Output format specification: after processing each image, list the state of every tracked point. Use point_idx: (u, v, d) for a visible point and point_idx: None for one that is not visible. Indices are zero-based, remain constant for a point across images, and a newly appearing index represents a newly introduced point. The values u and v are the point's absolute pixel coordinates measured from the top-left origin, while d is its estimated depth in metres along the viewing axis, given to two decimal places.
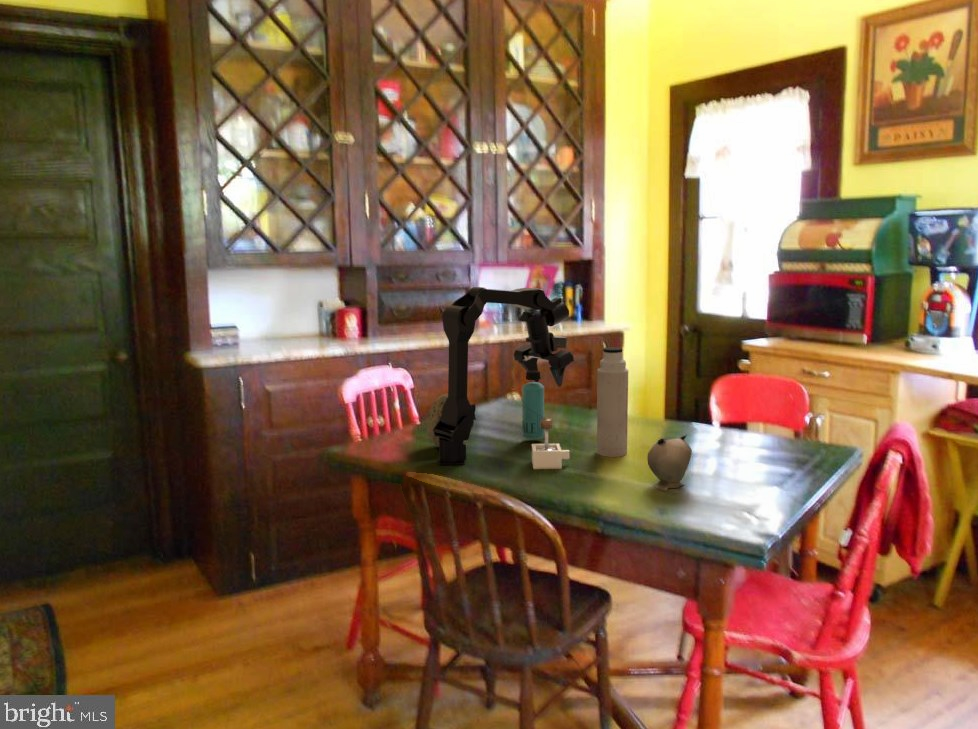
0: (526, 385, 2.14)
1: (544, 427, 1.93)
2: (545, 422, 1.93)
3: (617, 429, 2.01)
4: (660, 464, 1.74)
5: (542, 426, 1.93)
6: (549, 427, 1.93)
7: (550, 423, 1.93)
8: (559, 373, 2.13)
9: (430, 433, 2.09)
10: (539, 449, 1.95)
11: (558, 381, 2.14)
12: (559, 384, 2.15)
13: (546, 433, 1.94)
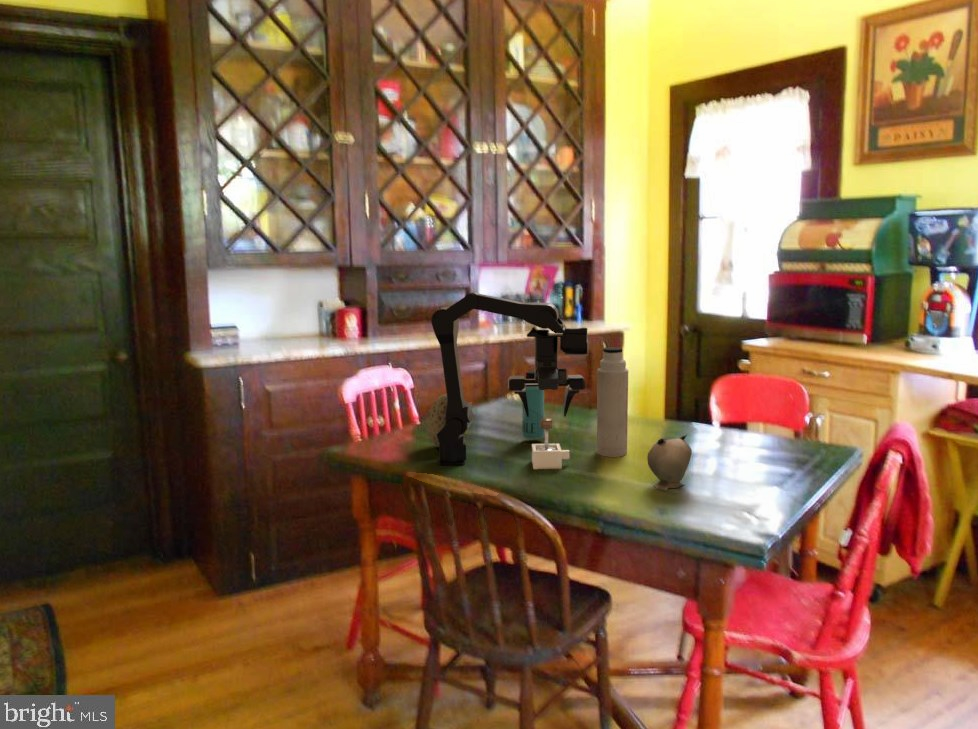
0: None
1: (544, 427, 1.93)
2: (545, 422, 1.93)
3: (617, 429, 2.01)
4: (660, 464, 1.74)
5: (542, 426, 1.93)
6: (549, 427, 1.93)
7: (550, 423, 1.93)
8: None
9: (430, 433, 2.09)
10: (539, 449, 1.95)
11: None
12: None
13: (546, 433, 1.94)
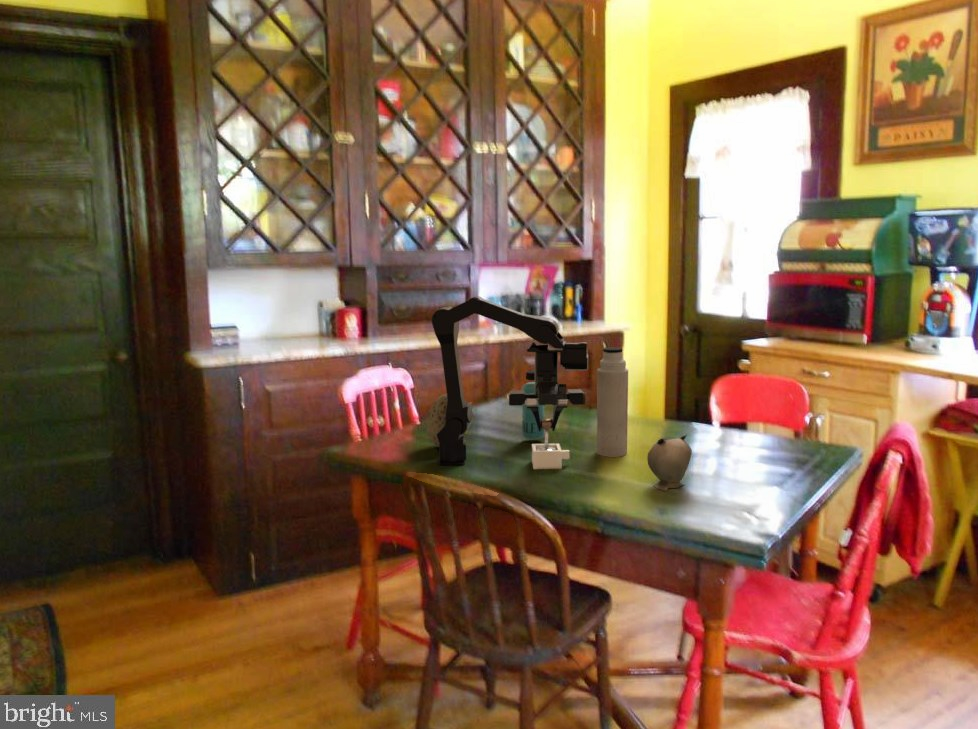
0: (526, 385, 2.14)
1: (544, 427, 1.93)
2: (545, 422, 1.93)
3: (617, 429, 2.01)
4: (660, 464, 1.74)
5: (542, 426, 1.93)
6: (549, 427, 1.93)
7: (550, 423, 1.93)
8: None
9: (430, 433, 2.09)
10: (539, 449, 1.95)
11: None
12: None
13: (546, 433, 1.94)
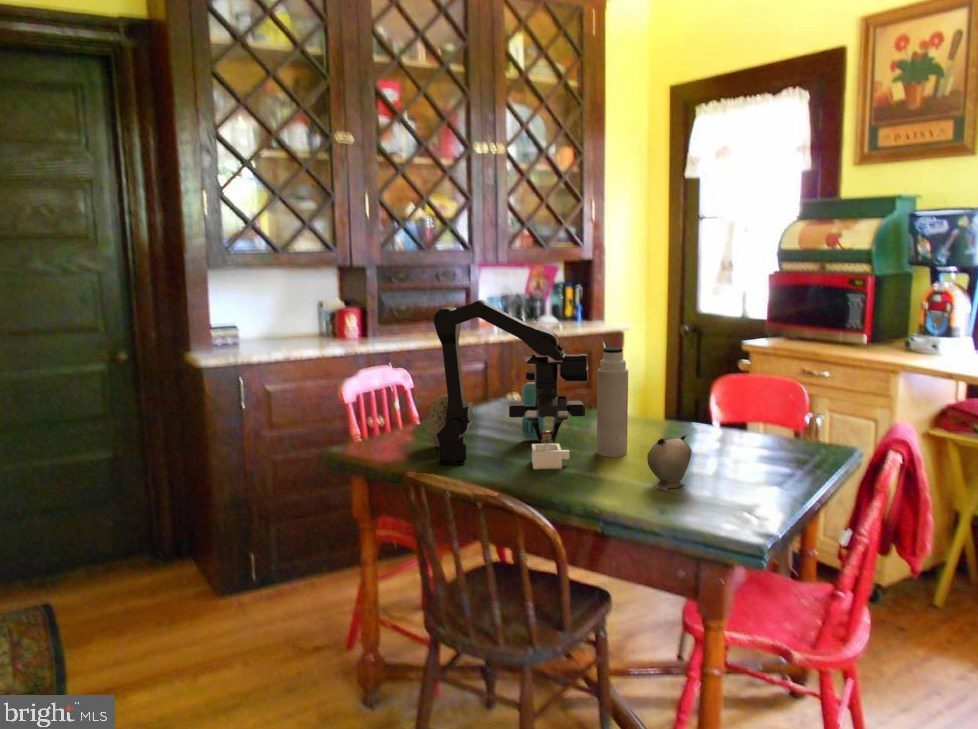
0: (526, 385, 2.14)
1: (544, 439, 1.94)
2: (545, 434, 1.93)
3: (617, 429, 2.01)
4: (660, 464, 1.74)
5: (542, 438, 1.94)
6: (549, 439, 1.94)
7: (550, 435, 1.94)
8: None
9: (430, 433, 2.09)
10: None
11: None
12: None
13: (546, 445, 1.95)
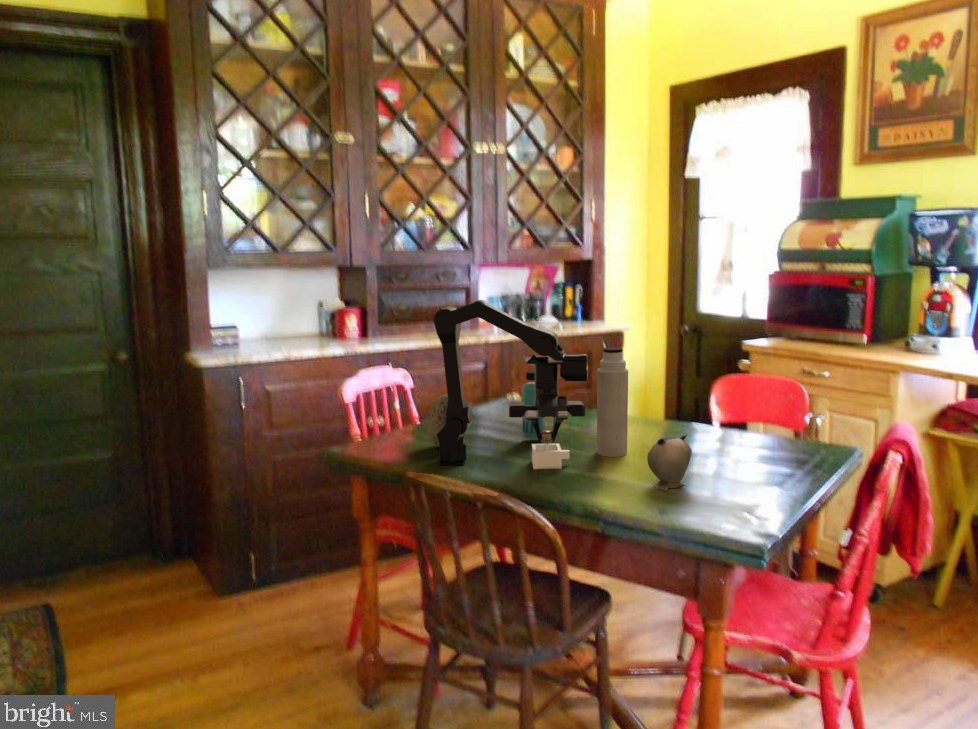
0: (526, 385, 2.14)
1: (544, 439, 1.94)
2: (545, 434, 1.93)
3: (617, 429, 2.01)
4: (660, 464, 1.74)
5: (542, 438, 1.94)
6: (549, 439, 1.94)
7: (550, 435, 1.94)
8: None
9: (430, 433, 2.09)
10: None
11: None
12: None
13: (546, 445, 1.95)
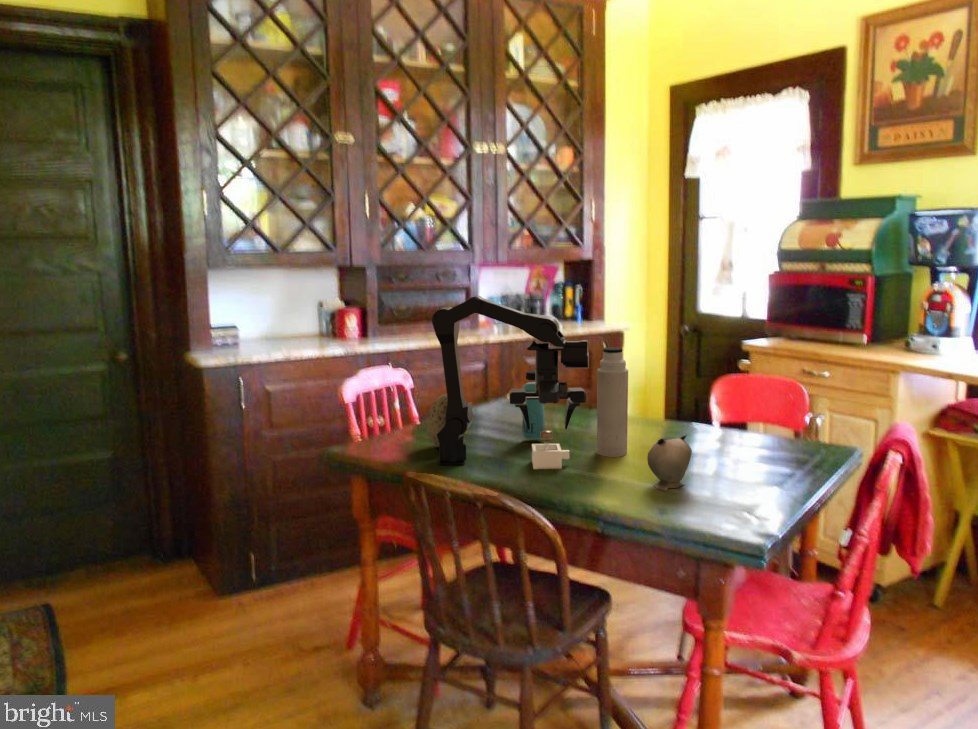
0: (526, 385, 2.14)
1: (544, 439, 1.94)
2: (545, 434, 1.93)
3: (617, 429, 2.01)
4: (660, 464, 1.74)
5: (542, 438, 1.94)
6: (549, 439, 1.94)
7: (550, 435, 1.94)
8: None
9: (430, 433, 2.09)
10: None
11: None
12: None
13: (546, 445, 1.95)
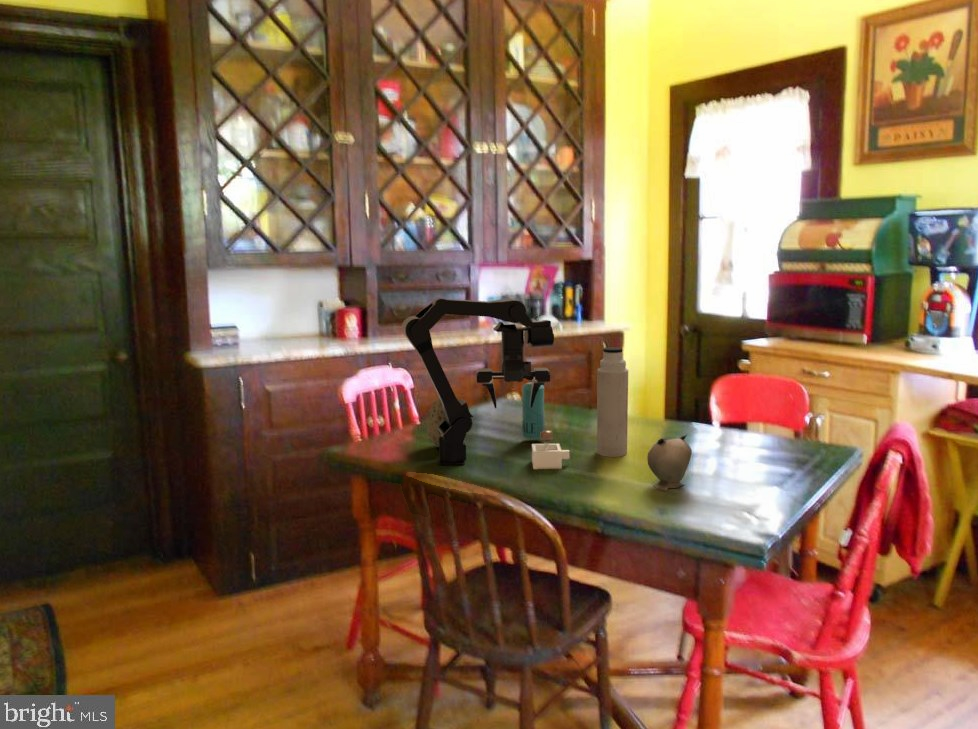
0: (526, 385, 2.14)
1: (544, 439, 1.94)
2: (545, 434, 1.93)
3: (617, 429, 2.01)
4: (660, 464, 1.74)
5: (542, 438, 1.94)
6: (549, 439, 1.94)
7: (550, 435, 1.94)
8: None
9: (430, 433, 2.09)
10: None
11: None
12: None
13: (546, 445, 1.95)
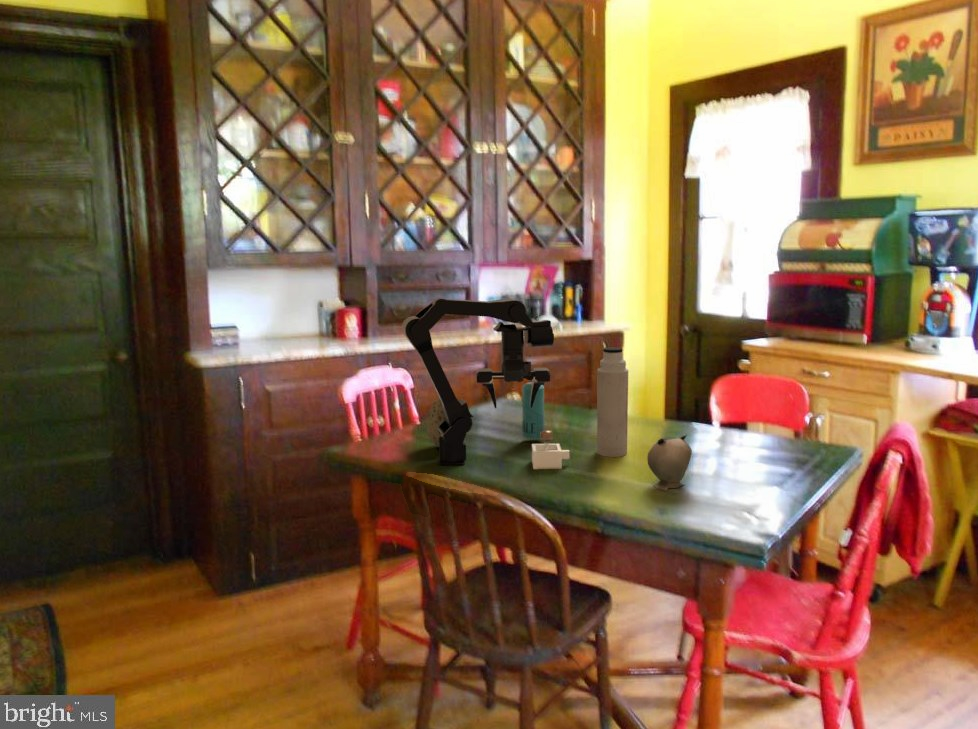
0: (526, 385, 2.14)
1: (544, 439, 1.94)
2: (545, 434, 1.93)
3: (617, 429, 2.01)
4: (660, 464, 1.74)
5: (542, 438, 1.94)
6: (549, 439, 1.94)
7: (550, 435, 1.94)
8: None
9: (430, 433, 2.09)
10: None
11: None
12: None
13: (546, 445, 1.95)
